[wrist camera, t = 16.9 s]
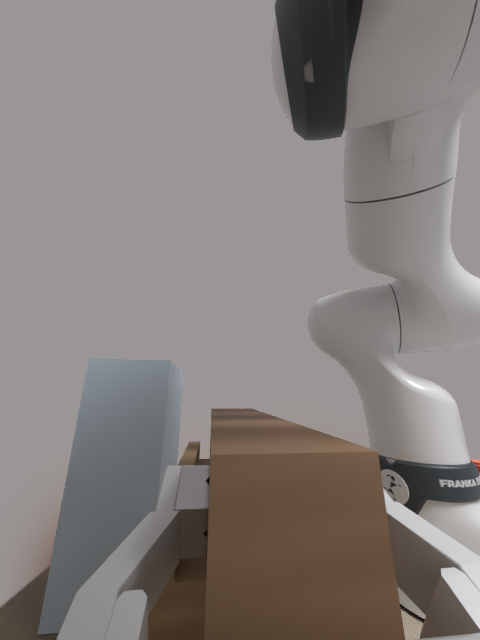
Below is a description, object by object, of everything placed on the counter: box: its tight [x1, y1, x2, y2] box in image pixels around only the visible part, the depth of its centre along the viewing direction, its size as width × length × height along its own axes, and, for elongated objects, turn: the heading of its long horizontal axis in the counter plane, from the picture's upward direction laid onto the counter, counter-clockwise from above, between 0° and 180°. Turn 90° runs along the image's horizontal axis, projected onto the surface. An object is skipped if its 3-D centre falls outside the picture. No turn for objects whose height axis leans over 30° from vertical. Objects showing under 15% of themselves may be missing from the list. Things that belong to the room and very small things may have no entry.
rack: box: [148, 442, 210, 640], centre depth 14 cm, size 16×9×18 cm, turn 6°
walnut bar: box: [204, 409, 405, 640], centre depth 15 cm, size 20×4×4 cm, turn 6°
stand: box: [37, 359, 184, 635], centre depth 35 cm, size 16×10×26 cm, turn 6°
